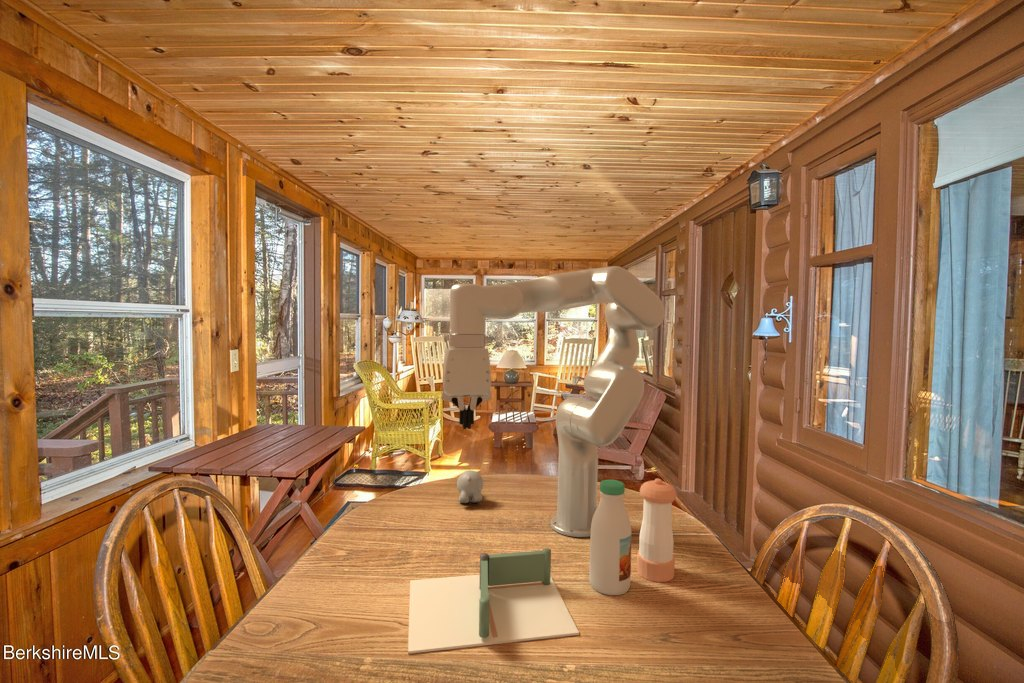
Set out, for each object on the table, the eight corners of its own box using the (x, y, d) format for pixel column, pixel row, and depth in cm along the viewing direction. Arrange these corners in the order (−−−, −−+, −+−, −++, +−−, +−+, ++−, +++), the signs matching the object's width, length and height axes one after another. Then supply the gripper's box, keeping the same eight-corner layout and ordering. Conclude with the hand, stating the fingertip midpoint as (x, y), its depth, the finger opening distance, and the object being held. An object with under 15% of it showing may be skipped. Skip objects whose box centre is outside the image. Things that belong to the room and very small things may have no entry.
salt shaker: (664, 586, 93) (667, 488, 92) (630, 572, 98) (632, 479, 97) (680, 572, 99) (683, 479, 98) (647, 559, 104) (649, 470, 103)
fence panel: (479, 590, 89) (479, 560, 89) (488, 589, 89) (488, 560, 89) (478, 637, 76) (479, 603, 76) (489, 637, 76) (489, 602, 76)
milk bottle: (606, 601, 88) (609, 492, 87) (581, 580, 95) (583, 479, 94) (638, 590, 92) (642, 486, 91) (612, 571, 99) (615, 473, 98)
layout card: (546, 570, 98) (547, 568, 98) (578, 634, 79) (579, 631, 79) (410, 582, 93) (410, 579, 93) (408, 654, 74) (408, 650, 74)
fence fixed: (549, 582, 94) (549, 547, 94) (551, 586, 93) (552, 551, 92) (478, 588, 92) (479, 553, 91) (480, 593, 90) (480, 557, 90)
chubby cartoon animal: (480, 503, 140) (480, 472, 143) (484, 502, 129) (484, 469, 132) (455, 503, 139) (455, 472, 142) (457, 503, 128) (457, 469, 131)
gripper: (499, 341, 109) (498, 423, 110) (431, 341, 106) (430, 424, 107) (505, 343, 102) (503, 430, 103) (432, 343, 99) (431, 433, 100)
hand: (466, 427), depth 105 cm, fingers closed
